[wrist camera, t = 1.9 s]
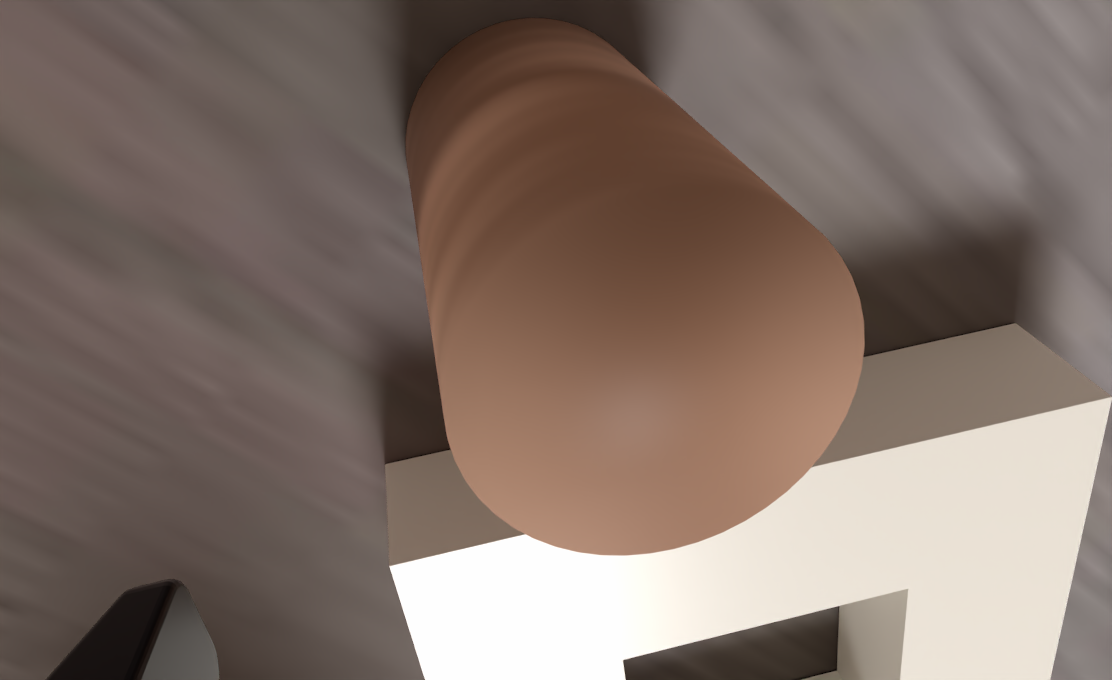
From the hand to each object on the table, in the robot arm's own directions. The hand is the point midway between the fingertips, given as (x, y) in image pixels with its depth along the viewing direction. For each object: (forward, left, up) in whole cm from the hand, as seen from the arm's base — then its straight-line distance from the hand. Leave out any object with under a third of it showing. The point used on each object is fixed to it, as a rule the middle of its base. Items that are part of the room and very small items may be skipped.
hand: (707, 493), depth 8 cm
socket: (+3, -13, -10) cm, 16 cm away
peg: (0, 0, -10) cm, 10 cm away
